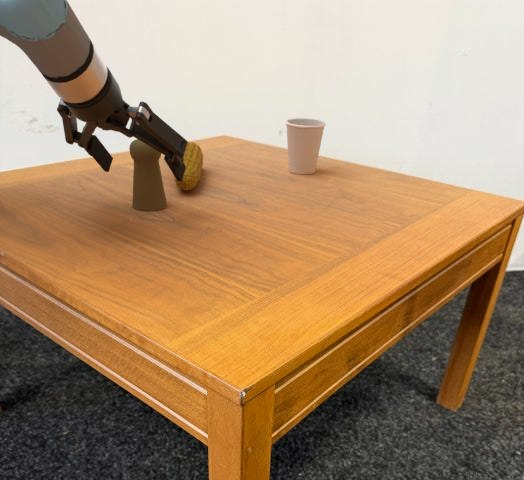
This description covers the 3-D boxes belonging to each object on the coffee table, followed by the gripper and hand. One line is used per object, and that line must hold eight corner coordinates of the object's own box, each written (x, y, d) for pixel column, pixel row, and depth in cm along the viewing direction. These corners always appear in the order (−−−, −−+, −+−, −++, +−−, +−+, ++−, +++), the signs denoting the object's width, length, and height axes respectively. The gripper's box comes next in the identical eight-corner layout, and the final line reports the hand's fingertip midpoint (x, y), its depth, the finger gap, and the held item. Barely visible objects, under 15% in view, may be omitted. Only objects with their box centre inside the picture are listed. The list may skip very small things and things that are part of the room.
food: (177, 167, 118) (175, 138, 115) (203, 167, 119) (202, 138, 115) (172, 196, 100) (170, 163, 97) (203, 197, 101) (202, 163, 98)
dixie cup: (302, 178, 114) (306, 127, 109) (274, 169, 119) (277, 120, 114) (329, 172, 119) (334, 123, 113) (301, 164, 124) (305, 116, 119)
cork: (124, 206, 95) (117, 139, 89) (148, 198, 99) (143, 134, 94) (151, 213, 92) (146, 145, 87) (174, 204, 97) (170, 139, 91)
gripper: (177, 63, 70) (219, 157, 91) (11, 50, 76) (86, 142, 96) (161, 114, 69) (207, 198, 89) (-6, 97, 75) (73, 180, 95)
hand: (144, 169), depth 93 cm, fingers open, 13 cm apart
